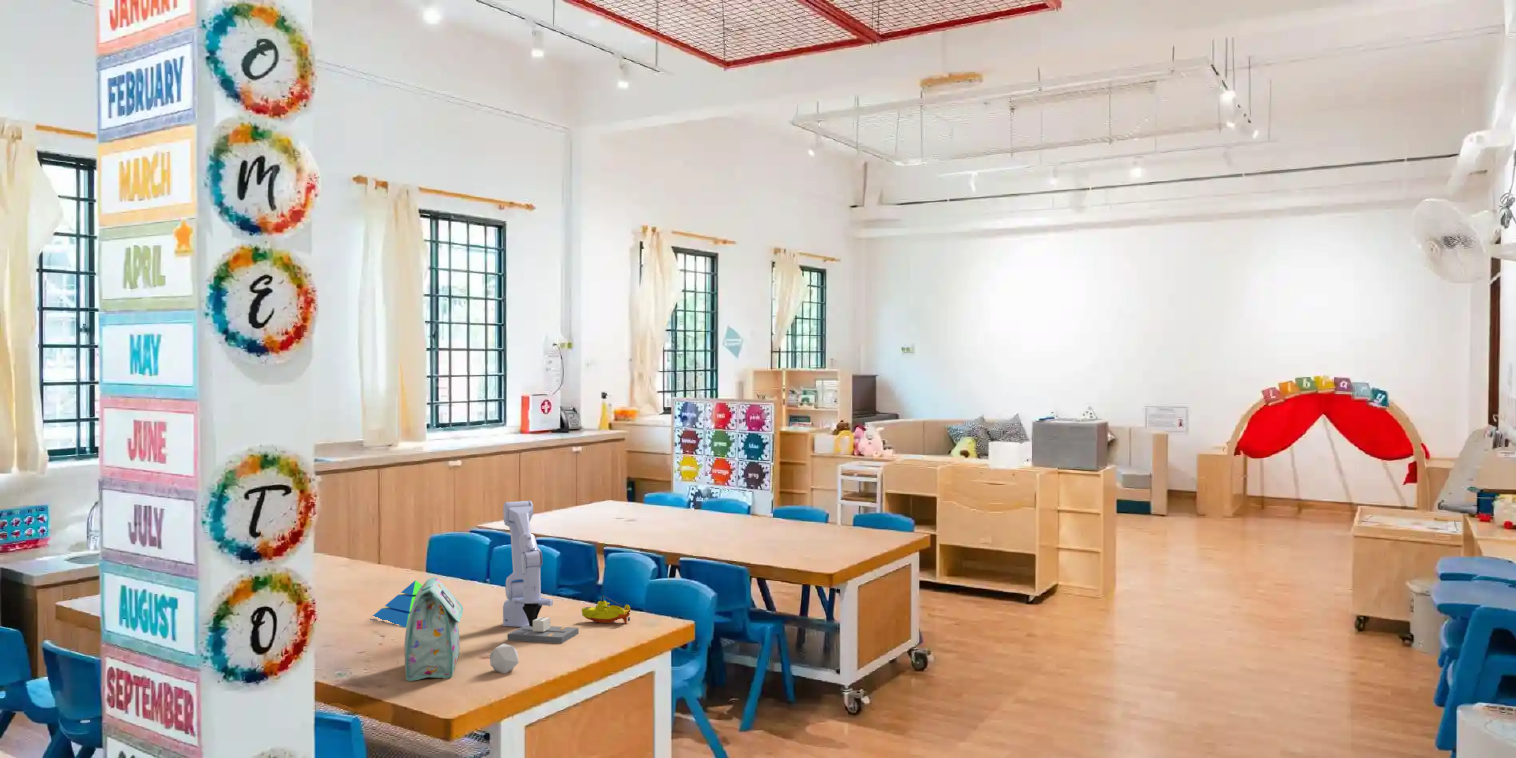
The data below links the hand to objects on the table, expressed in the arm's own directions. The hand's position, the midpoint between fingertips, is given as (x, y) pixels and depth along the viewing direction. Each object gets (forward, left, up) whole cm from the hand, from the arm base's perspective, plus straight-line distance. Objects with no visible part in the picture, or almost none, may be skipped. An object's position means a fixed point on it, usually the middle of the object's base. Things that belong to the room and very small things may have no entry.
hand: (532, 625), depth 339 cm
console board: (+4, 0, -3) cm, 5 cm away
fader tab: (+3, 0, -1) cm, 3 cm away
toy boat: (+17, +23, -4) cm, 29 cm away
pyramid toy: (-57, +17, -4) cm, 60 cm away
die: (+11, -39, -4) cm, 41 cm away
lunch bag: (-11, -42, -4) cm, 44 cm away
